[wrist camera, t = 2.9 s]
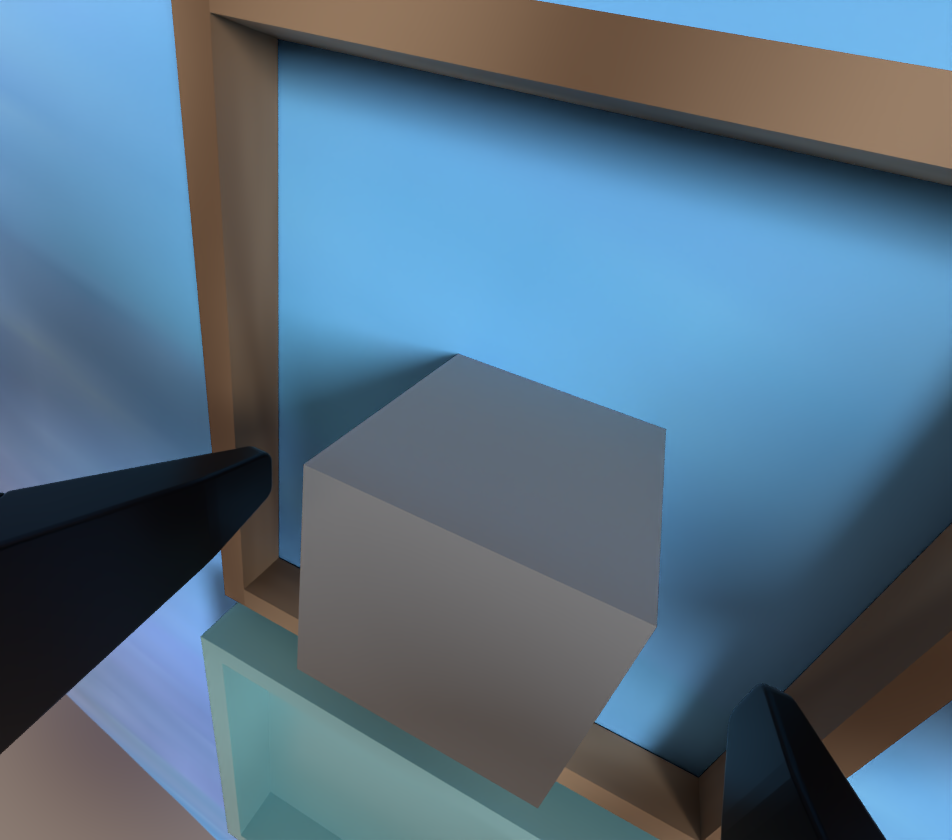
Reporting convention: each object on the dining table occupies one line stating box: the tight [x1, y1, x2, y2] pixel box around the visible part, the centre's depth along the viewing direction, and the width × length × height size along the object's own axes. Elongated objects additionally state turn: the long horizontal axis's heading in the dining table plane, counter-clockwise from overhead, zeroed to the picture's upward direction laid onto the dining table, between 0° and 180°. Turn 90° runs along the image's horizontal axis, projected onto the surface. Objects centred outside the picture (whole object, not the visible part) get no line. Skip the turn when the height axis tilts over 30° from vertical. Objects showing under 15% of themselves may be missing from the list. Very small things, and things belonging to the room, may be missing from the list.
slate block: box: [297, 354, 666, 808], centre depth 9 cm, size 4×4×5 cm
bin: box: [201, 602, 659, 840], centre depth 18 cm, size 16×16×2 cm
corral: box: [171, 0, 952, 840], centre depth 10 cm, size 16×16×2 cm
